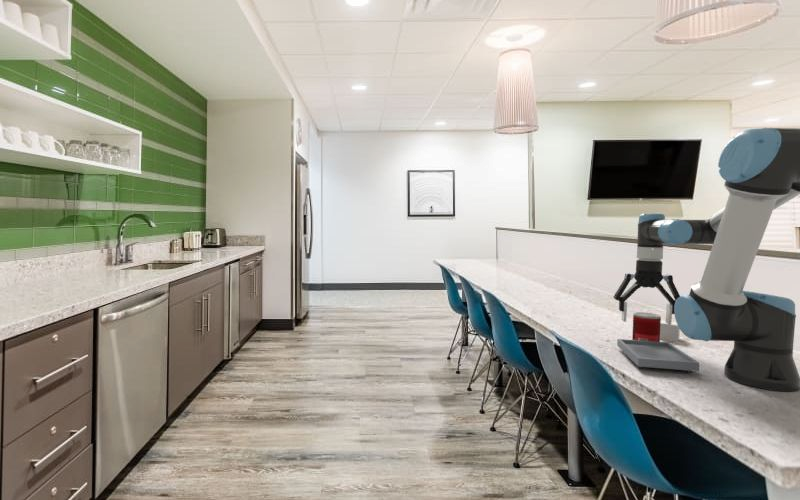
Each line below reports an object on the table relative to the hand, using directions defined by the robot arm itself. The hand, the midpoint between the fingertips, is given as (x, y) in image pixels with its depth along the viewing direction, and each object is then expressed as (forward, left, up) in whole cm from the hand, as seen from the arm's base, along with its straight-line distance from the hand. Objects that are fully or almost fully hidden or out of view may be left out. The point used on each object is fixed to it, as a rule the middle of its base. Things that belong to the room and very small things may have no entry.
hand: (645, 322), depth 140 cm
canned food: (0, 0, -9) cm, 9 cm away
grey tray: (-11, +13, -8) cm, 19 cm away
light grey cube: (+3, -18, -9) cm, 20 cm away
